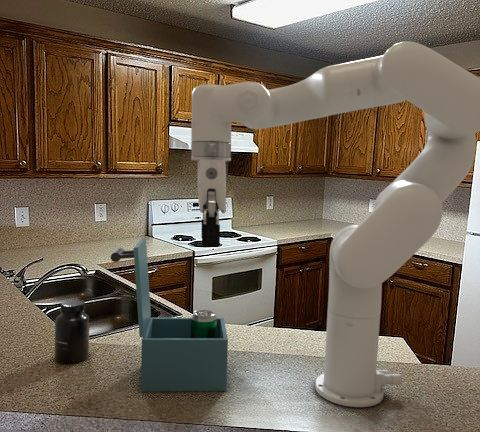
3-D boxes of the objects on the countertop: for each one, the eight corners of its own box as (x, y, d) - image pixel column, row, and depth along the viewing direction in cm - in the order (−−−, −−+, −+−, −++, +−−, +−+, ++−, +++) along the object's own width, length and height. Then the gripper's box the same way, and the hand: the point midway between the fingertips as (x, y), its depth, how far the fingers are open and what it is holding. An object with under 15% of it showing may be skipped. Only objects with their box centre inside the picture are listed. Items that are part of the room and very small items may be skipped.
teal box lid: (145, 237, 92) (117, 238, 92) (137, 247, 80) (105, 249, 79) (151, 315, 94) (123, 317, 93) (144, 337, 81) (112, 339, 81)
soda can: (215, 366, 92) (217, 309, 91) (214, 378, 87) (216, 317, 86) (190, 366, 92) (192, 308, 91) (188, 377, 87) (190, 316, 86)
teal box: (222, 362, 96) (223, 317, 95) (226, 390, 84) (227, 339, 83) (148, 362, 95) (149, 317, 94) (140, 391, 82) (141, 339, 81)
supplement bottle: (52, 365, 92) (52, 308, 91) (57, 352, 98) (57, 298, 97) (87, 363, 93) (88, 306, 92) (90, 350, 100) (90, 297, 99)
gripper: (234, 151, 77) (232, 250, 79) (227, 155, 94) (226, 236, 96) (190, 150, 77) (189, 249, 78) (191, 154, 94) (191, 236, 95)
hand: (210, 242), depth 87 cm, fingers open, 9 cm apart
